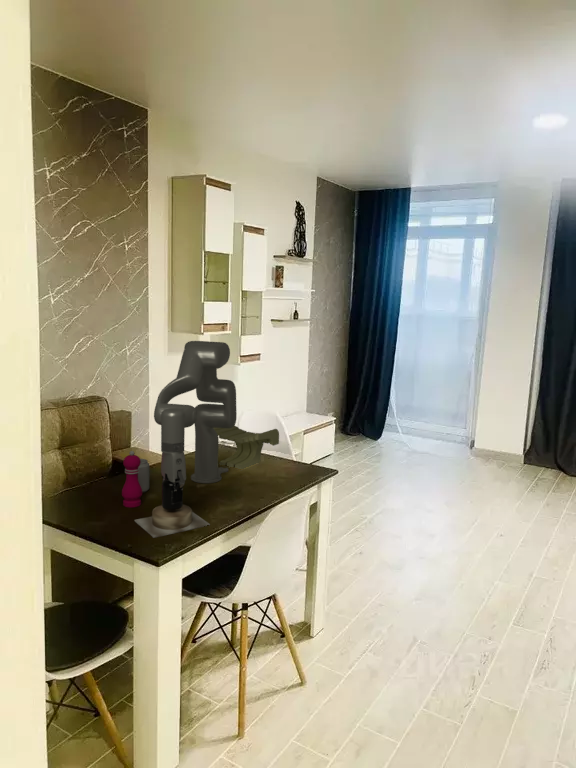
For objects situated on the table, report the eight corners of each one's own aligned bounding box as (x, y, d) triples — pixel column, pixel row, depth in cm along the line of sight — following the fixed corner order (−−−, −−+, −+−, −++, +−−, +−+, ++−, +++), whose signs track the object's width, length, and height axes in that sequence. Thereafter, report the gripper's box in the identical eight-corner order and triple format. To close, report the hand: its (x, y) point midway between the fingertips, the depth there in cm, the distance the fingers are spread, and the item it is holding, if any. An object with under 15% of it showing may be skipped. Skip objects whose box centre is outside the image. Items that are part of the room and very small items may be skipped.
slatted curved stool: (278, 465, 271) (279, 427, 268) (257, 474, 258) (258, 433, 255) (226, 453, 287) (227, 417, 284) (204, 461, 274) (204, 423, 271)
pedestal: (188, 510, 214) (188, 497, 213) (209, 525, 201) (210, 512, 200) (134, 521, 202) (134, 508, 201) (153, 537, 189) (153, 524, 189)
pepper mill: (144, 506, 216) (144, 452, 212) (124, 509, 212) (124, 454, 209) (139, 499, 222) (139, 447, 219) (119, 502, 218) (119, 449, 215)
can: (125, 491, 230) (125, 461, 228) (138, 486, 237) (138, 456, 235) (140, 495, 227) (140, 464, 225) (153, 489, 234) (153, 459, 232)
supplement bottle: (184, 503, 204) (185, 469, 202) (180, 511, 197) (180, 476, 195) (164, 502, 204) (164, 468, 202) (159, 510, 197) (159, 475, 195)
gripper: (195, 451, 193) (194, 504, 195) (172, 439, 206) (171, 488, 209) (173, 454, 188) (173, 508, 191) (151, 441, 202) (151, 492, 205)
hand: (172, 497), depth 200 cm, fingers closed on supplement bottle, 6 cm apart
